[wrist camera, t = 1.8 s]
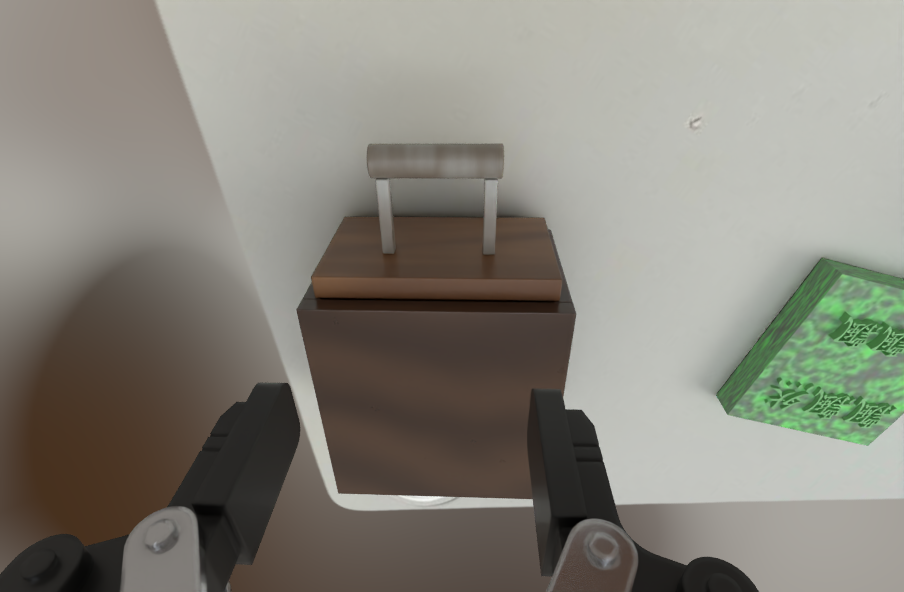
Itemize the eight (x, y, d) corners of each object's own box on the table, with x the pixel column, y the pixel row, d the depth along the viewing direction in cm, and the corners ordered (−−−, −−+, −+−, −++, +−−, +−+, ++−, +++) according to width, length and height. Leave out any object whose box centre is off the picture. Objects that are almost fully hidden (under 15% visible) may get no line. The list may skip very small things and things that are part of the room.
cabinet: (340, 227, 30) (295, 309, 22) (550, 229, 29) (576, 313, 22) (365, 391, 37) (338, 493, 30) (532, 395, 37) (547, 499, 29)
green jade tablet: (981, 299, 31) (1017, 322, 28) (850, 425, 37) (872, 451, 35) (822, 257, 29) (848, 278, 27) (716, 395, 36) (730, 420, 34)
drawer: (330, 120, 25) (287, 162, 19) (554, 120, 25) (578, 163, 19) (367, 377, 35) (346, 455, 29) (528, 380, 35) (538, 460, 29)
